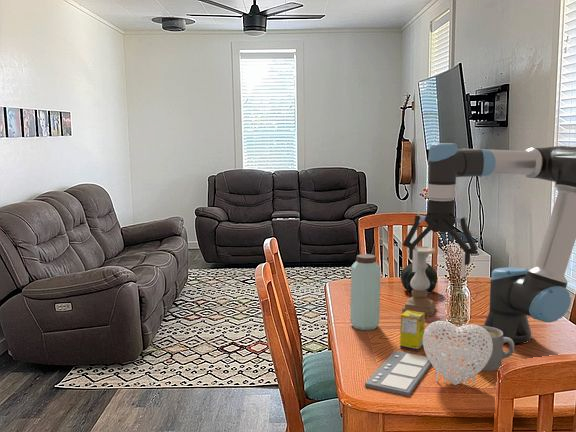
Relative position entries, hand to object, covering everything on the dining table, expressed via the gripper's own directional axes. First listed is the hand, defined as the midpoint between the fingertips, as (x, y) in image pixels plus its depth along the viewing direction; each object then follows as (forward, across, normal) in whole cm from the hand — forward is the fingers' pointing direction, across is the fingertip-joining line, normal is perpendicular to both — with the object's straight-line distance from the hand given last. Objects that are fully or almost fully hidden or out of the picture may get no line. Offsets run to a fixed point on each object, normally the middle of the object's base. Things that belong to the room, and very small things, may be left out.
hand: (438, 273), depth 166 cm
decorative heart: (+28, -7, +10) cm, 30 cm away
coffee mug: (+28, -14, -8) cm, 32 cm away
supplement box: (+28, +10, -12) cm, 32 cm away
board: (+28, +8, +9) cm, 30 cm away
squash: (+28, +22, -75) cm, 83 cm away
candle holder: (+28, +16, -49) cm, 59 cm away
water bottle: (+28, +29, -24) cm, 47 cm away
